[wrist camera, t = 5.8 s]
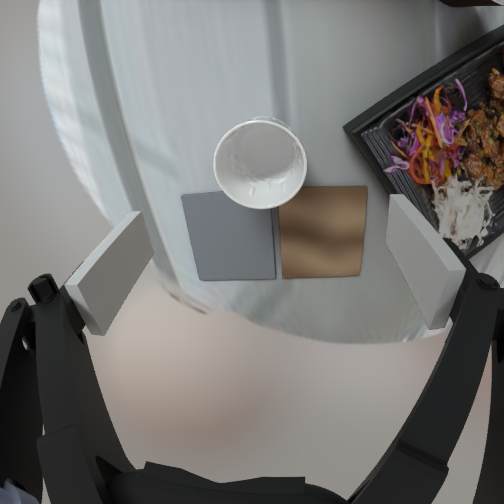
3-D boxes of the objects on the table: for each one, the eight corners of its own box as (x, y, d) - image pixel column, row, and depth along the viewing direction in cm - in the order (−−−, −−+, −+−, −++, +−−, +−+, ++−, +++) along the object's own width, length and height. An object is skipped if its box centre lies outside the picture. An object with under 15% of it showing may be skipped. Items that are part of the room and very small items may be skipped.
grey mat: (182, 194, 37) (181, 196, 36) (269, 188, 35) (268, 189, 35) (200, 277, 43) (199, 280, 43) (275, 275, 42) (275, 278, 41)
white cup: (250, 99, 30) (239, 103, 21) (312, 132, 31) (324, 150, 23) (220, 157, 34) (198, 184, 25) (278, 187, 35) (277, 224, 27)
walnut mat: (277, 187, 35) (277, 189, 35) (366, 185, 34) (367, 187, 33) (282, 275, 42) (282, 278, 41) (358, 272, 40) (359, 275, 40)
